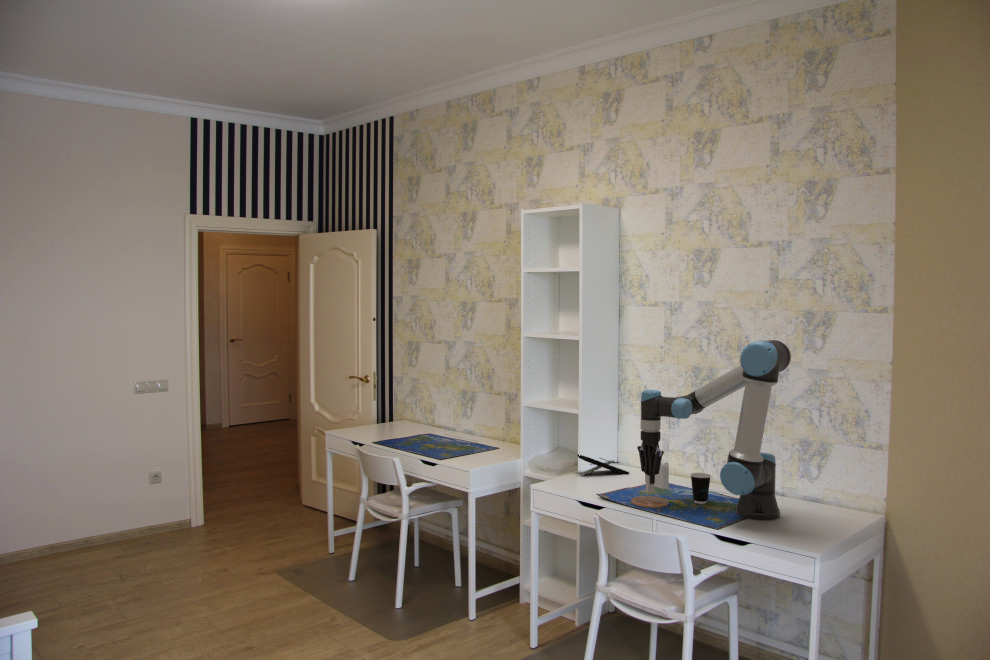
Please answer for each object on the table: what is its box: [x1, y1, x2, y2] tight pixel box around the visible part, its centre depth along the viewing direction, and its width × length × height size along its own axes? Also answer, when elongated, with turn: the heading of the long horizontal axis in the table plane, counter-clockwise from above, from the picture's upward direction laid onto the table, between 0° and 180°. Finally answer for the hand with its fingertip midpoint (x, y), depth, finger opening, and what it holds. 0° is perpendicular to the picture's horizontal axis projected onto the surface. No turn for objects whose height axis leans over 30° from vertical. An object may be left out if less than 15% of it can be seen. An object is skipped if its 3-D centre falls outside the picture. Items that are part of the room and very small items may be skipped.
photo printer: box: [654, 459, 670, 490], centre depth 305 cm, size 10×4×12 cm, turn 39°
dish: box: [630, 495, 670, 509], centre depth 280 cm, size 14×14×1 cm
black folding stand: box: [577, 454, 630, 477], centre depth 329 cm, size 22×10×10 cm, turn 107°
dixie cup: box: [690, 472, 712, 505], centre depth 281 cm, size 8×8×11 cm
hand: (649, 491), depth 280 cm, fingers closed
